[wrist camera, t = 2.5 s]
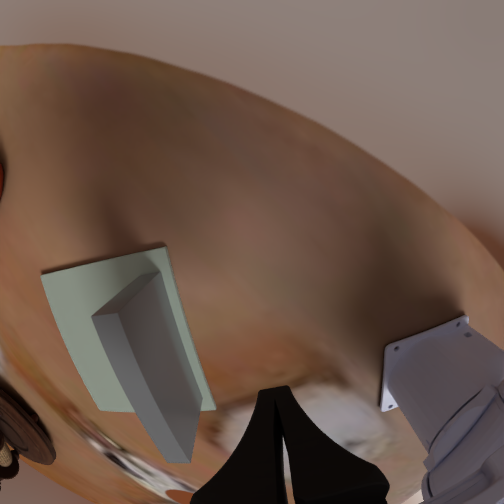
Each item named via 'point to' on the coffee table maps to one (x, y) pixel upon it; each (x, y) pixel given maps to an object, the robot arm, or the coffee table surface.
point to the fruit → (1, 180)
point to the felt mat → (91, 300)
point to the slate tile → (152, 364)
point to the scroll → (20, 438)
